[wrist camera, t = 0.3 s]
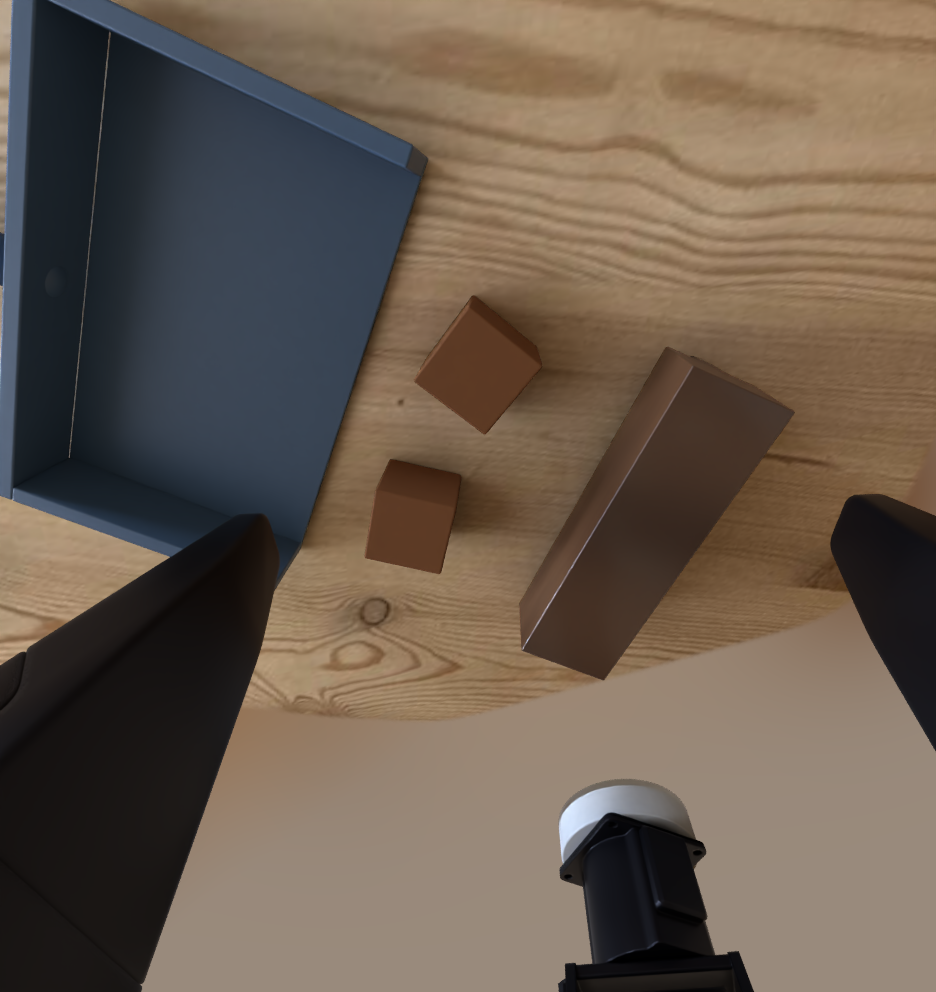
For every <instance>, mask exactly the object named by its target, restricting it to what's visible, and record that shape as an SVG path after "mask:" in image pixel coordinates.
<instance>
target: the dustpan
mask: <svg viewBox="0 0 936 992" xmlns="http://www.w3.org/2000/svg"><path fill="white" fill-rule="evenodd" d="M109 31H110V32H111V37H110V47H109V57H108V68H107V78H106V89H105V99H104V109H103V120H102V130H101V140H100V151H99V161H98V172H97V182H96V192H95V203H94V213H93V223H92V234H91V244H90V255H89V265H88V275H87V286H86V296H85V306H84V317H83V327H82V338H81V348H80V358H79V369H78V379H77V389H76V400H75V410H74V421H73V431H72V441H71V452H70V458H69V448H70V437H71V427H72V416H73V406H74V395H75V385H76V374H77V364H78V353H79V343H80V332H81V322H82V311H83V301H84V290H85V280H86V269H87V259H88V248H89V238H90V227H91V217H92V206H93V196H94V185H95V175H96V164H97V154H98V143H99V133H100V122H101V112H102V101H103V91H104V80H105V70H106V59H107V49H108V38H109ZM427 161H428V158H427V157H426V156H424V155H423V154H422V153H421V152H420V151H419V150H418V149H417V148H416V147H414V146H413V145H412V144H410V143H408V142H406V141H404V140H402V139H400V138H398V137H396V136H394V135H392V134H389V133H387V132H385V131H383V130H381V129H379V128H377V127H375V126H373V125H371V124H368V123H366V122H364V121H362V120H360V119H358V118H356V117H354V116H352V115H349V114H347V113H345V112H343V111H341V110H339V109H337V108H335V107H333V106H331V105H328V104H326V103H324V102H322V101H320V100H318V99H316V98H314V97H312V96H310V95H307V94H305V93H303V92H301V91H299V90H297V89H295V88H293V87H291V86H289V85H286V84H284V83H282V82H280V81H278V80H276V79H274V78H272V77H270V76H268V75H265V74H263V73H261V72H259V71H257V70H255V69H253V68H251V67H249V66H247V65H244V64H242V63H240V62H238V61H236V60H234V59H232V58H230V57H228V56H226V55H223V54H221V53H219V52H217V51H215V50H213V49H211V48H209V47H207V46H205V45H202V44H200V43H198V42H196V41H194V40H192V39H190V38H188V37H186V36H184V35H181V34H179V33H177V32H175V31H173V30H171V29H169V28H167V27H165V26H163V25H160V24H158V23H156V22H154V21H152V20H150V19H148V18H146V17H144V16H142V15H139V14H137V13H135V12H133V11H131V10H129V9H127V8H125V7H123V6H121V5H118V4H116V3H114V2H112V1H110V0H12V17H11V49H10V80H9V111H8V143H7V174H6V206H5V234H3V233H1V232H0V285H1V286H3V300H2V331H1V363H0V496H2V497H5V498H8V499H13V501H16V502H18V503H21V504H24V505H27V506H30V507H32V508H35V509H38V510H41V511H44V512H46V513H49V514H52V515H55V516H58V517H60V518H63V519H66V520H69V521H72V522H74V523H77V524H80V525H83V526H85V527H88V528H91V529H94V530H97V531H99V532H102V533H105V534H108V535H111V536H113V537H116V538H119V539H122V540H125V541H127V542H130V543H133V544H136V545H139V546H141V547H144V548H147V549H150V550H153V551H155V552H158V553H161V554H164V555H167V556H169V557H171V556H173V555H174V554H176V553H178V552H179V551H181V550H182V549H184V548H185V547H187V546H189V545H190V544H192V543H193V542H195V541H196V540H198V539H200V538H201V537H203V536H204V535H206V534H207V533H209V532H211V531H212V530H214V529H215V528H217V527H218V526H220V525H222V524H223V523H225V522H226V521H228V520H229V519H231V518H233V517H234V516H236V515H238V514H245V513H262V514H264V515H266V516H267V518H268V520H269V522H270V525H271V529H272V532H273V535H274V538H275V541H276V545H277V548H278V551H279V556H280V566H279V572H278V576H277V581H276V585H275V589H276V587H277V586H278V584H279V583H280V581H281V579H282V578H283V576H284V575H285V573H286V571H287V570H288V568H289V566H290V565H291V563H292V562H293V560H294V558H295V557H296V555H297V554H298V552H299V551H300V548H301V545H302V542H303V539H304V536H305V533H306V530H307V527H308V524H309V521H310V518H311V515H312V511H313V508H314V505H315V502H316V499H317V496H318V493H319V490H320V487H321V484H322V481H323V478H324V475H325V472H326V469H327V466H328V463H329V460H330V457H331V454H332V451H333V448H334V444H335V441H336V438H337V435H338V432H339V429H340V426H341V423H342V420H343V417H344V414H345V411H346V408H347V405H348V402H349V399H350V396H351V393H352V390H353V387H354V384H355V380H356V377H357V374H358V371H359V368H360V365H361V362H362V359H363V356H364V353H365V350H366V347H367V344H368V341H369V338H370V335H371V332H372V329H373V326H374V323H375V320H376V316H377V313H378V310H379V307H380V304H381V301H382V298H383V295H384V292H385V289H386V286H387V283H388V280H389V277H390V274H391V271H392V268H393V265H394V262H395V259H396V256H397V252H398V249H399V246H400V243H401V240H402V237H403V234H404V231H405V228H406V225H407V222H408V219H409V216H410V213H411V210H412V207H413V204H414V201H415V198H416V195H417V192H418V188H419V185H420V182H421V179H422V176H423V173H424V170H425V167H426V164H427ZM275 589H274V591H275Z"/></svg>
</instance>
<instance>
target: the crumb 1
mask: <svg viewBox="0 0 936 992" xmlns="http://www.w3.org/2000/svg"><path fill="white" fill-rule="evenodd" d="M460 483H461V475H459V474H454V473H450V472H445V471H441V470H437V469H432V468H428V467H423V466H419V465H415V464H410V463H406V462H401V461H397V460H392V459H390V461H389V463H388V465H387V467H386V469H385V471H384V473H383V475H382V477H381V479H380V482H379V484H378V486H377V488H376V490H375V495H374V501H373V507H372V513H371V519H370V525H369V531H368V537H367V543H366V549H365V555H364V556H365V558H367V559H372V560H377V561H381V562H386V563H390V564H395V565H400V566H404V567H409V568H413V569H418V570H423V571H427V572H432V573H436V574H440V573H441V571H442V567H443V562H444V558H445V554H446V550H447V546H448V542H449V538H450V533H451V529H452V525H453V521H454V517H455V513H456V508H457V502H458V496H459V489H460Z"/></svg>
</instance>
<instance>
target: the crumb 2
mask: <svg viewBox="0 0 936 992" xmlns="http://www.w3.org/2000/svg"><path fill="white" fill-rule="evenodd" d="M541 368H542V363H541V359H540V356H539V353H538V349H537V347H536V346H535V345H534V344H533V343H531V342H530V341H529V340H528V339H527V338H525V337H524V336H523V335H522V334H520V333H519V332H518V331H517V330H516V329H514V328H513V327H512V326H511V325H510V324H508V323H507V322H506V321H505V320H503V319H502V318H501V317H500V316H499V315H497V314H496V313H495V312H494V311H493V310H491V309H490V308H489V307H488V306H486V305H485V304H484V303H483V302H482V301H480V300H479V299H478V298H477V297H476V296H472V297H471V298H470V300H469V301H468V302H467V304H466V305H465V306H464V308H463V309H462V310H461V312H460V313H459V315H458V316H457V317H456V319H455V320H454V321H453V323H452V324H451V325H450V327H449V328H448V330H447V331H446V332H445V334H444V335H443V336H442V338H441V339H440V340H439V342H438V343H437V345H436V346H435V347H434V349H433V350H432V351H431V353H430V354H429V355H428V357H427V358H426V359H425V361H424V363H423V365H422V366H421V368H420V370H419V372H418V373H417V375H416V377H415V379H414V382H415V383H417V384H418V385H419V386H421V387H422V388H423V389H424V390H426V391H427V392H428V393H430V394H431V395H432V396H434V397H435V398H436V399H438V400H439V401H440V402H442V403H443V404H444V405H446V406H447V407H448V408H450V409H451V410H452V411H454V412H455V413H456V414H458V415H459V416H460V417H462V418H463V419H464V420H466V421H467V422H468V423H470V424H471V425H472V426H474V427H475V428H476V429H477V430H479V431H480V432H481V433H483V434H486V433H487V432H488V431H489V430H490V429H491V427H492V426H493V425H494V424H495V423H496V421H497V420H498V419H499V418H500V417H501V415H502V414H503V413H504V412H505V411H506V410H507V408H508V407H509V406H510V405H511V404H512V402H513V401H514V400H515V399H516V398H517V396H518V395H519V394H520V393H521V392H522V390H523V389H524V388H525V387H526V386H527V384H528V383H529V382H530V381H531V380H532V379H533V377H534V376H535V375H536V374H537V373H538V371H539V370H540V369H541Z"/></svg>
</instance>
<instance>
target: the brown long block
mask: <svg viewBox="0 0 936 992" xmlns="http://www.w3.org/2000/svg"><path fill="white" fill-rule="evenodd" d="M794 413H795V412H794V411H793V410H792V409H790V408H789V407H787V406H785V405H784V404H782V403H781V402H779V401H777V400H776V399H774V398H773V397H771V396H770V395H768V394H766V393H765V392H763V391H762V390H760V389H759V388H757V387H755V386H753V385H751V384H749V383H747V382H745V381H742V380H740V379H738V378H736V377H734V376H731V375H729V374H727V373H725V372H723V371H721V370H720V369H718V368H717V367H715V366H713V365H712V364H709V363H707V362H705V361H703V360H701V359H698V358H696V357H694V356H688V355H685V354H683V353H681V352H679V351H677V350H674V349H672V348H670V347H666V348H665V349H664V351H663V353H662V355H661V356H660V358H659V360H658V362H657V363H656V365H655V367H654V369H653V370H652V372H651V374H650V376H649V377H648V379H647V381H646V383H645V384H644V386H643V388H642V390H641V391H640V393H639V395H638V397H637V398H636V400H635V402H634V404H633V405H632V407H631V409H630V411H629V412H628V414H627V416H626V418H625V419H624V421H623V423H622V425H621V426H620V428H619V430H618V432H617V433H616V435H615V437H614V439H613V440H612V442H611V444H610V446H609V447H608V449H607V451H606V453H605V454H604V456H603V458H602V460H601V461H600V463H599V465H598V467H597V468H596V470H595V472H594V474H593V475H592V477H591V479H590V481H589V482H588V484H587V486H586V488H585V490H584V491H583V493H582V495H581V497H580V498H579V500H578V502H577V504H576V505H575V507H574V509H573V511H572V512H571V514H570V516H569V518H568V519H567V521H566V523H565V525H564V526H563V528H562V530H561V532H560V533H559V535H558V537H557V539H556V540H555V542H554V544H553V546H552V547H551V549H550V551H549V553H548V554H547V556H546V558H545V560H544V561H543V563H542V565H541V567H540V568H539V570H538V572H537V574H536V575H535V577H534V579H533V581H532V582H531V584H530V586H529V588H528V589H527V591H526V593H525V595H524V596H523V598H522V600H521V602H520V603H519V606H520V627H521V648H522V651H524V652H527V653H530V654H533V655H535V656H538V657H541V658H544V659H546V660H549V661H552V662H555V663H557V664H560V665H563V666H565V667H568V668H571V669H574V670H576V671H579V672H582V673H585V674H587V675H590V676H593V677H596V678H598V679H601V680H605V678H606V677H607V675H608V674H609V673H610V671H611V670H612V668H613V667H614V666H615V664H616V663H617V661H618V660H619V659H620V657H621V656H622V654H623V653H624V652H625V650H626V649H627V647H628V646H629V645H630V643H631V642H632V640H633V639H634V638H635V636H636V635H637V633H638V632H639V631H640V629H641V628H642V626H643V625H644V624H645V622H646V621H647V619H648V618H649V616H650V615H651V614H652V612H653V611H654V609H655V608H656V607H657V605H658V604H659V602H660V601H661V600H662V598H663V597H664V595H665V594H666V593H667V591H668V590H669V588H670V587H671V586H672V584H673V583H674V581H675V580H676V579H677V577H678V576H679V574H680V573H681V572H682V570H683V569H684V567H685V566H686V565H687V563H688V562H689V560H690V559H691V558H692V556H693V555H694V553H695V552H696V551H697V549H698V548H699V546H700V545H701V544H702V542H703V541H704V539H705V538H706V537H707V535H708V534H709V532H710V531H711V530H712V528H713V527H714V525H715V524H716V523H717V521H718V520H719V518H720V517H721V516H722V514H723V513H724V511H725V510H726V509H727V507H728V506H729V504H730V503H731V502H732V500H733V499H734V497H735V496H736V495H737V493H738V492H739V490H740V489H741V488H742V486H743V485H744V483H745V482H746V481H747V479H748V478H749V476H750V475H751V474H752V472H753V471H754V469H755V468H756V467H757V465H758V464H759V462H760V461H761V460H762V458H763V457H764V455H765V454H766V453H767V451H768V450H769V448H770V447H771V445H772V444H773V443H774V441H775V440H776V438H777V437H778V436H779V434H780V433H781V431H782V430H783V429H784V427H785V426H786V424H787V423H788V422H789V420H790V419H791V417H792V416H793V415H794Z"/></svg>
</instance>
